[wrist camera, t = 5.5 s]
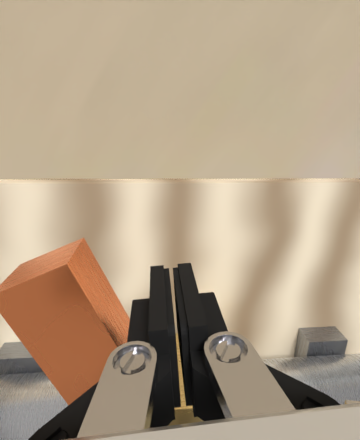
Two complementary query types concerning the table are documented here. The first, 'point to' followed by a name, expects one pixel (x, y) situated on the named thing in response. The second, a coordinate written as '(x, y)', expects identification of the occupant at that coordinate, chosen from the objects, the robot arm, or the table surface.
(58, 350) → the valve handle
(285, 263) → the valve board
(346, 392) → the pipe and valve
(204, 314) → the robot arm
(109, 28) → the table surface
